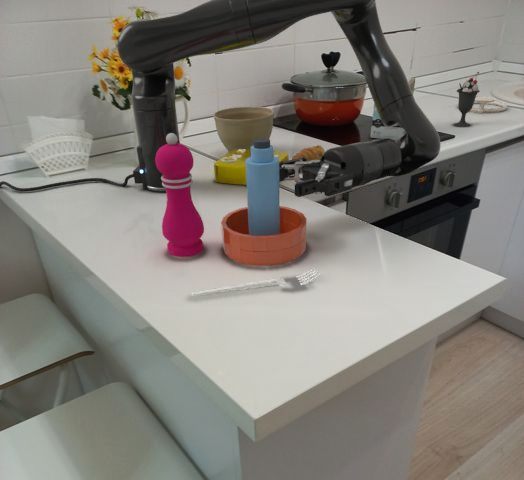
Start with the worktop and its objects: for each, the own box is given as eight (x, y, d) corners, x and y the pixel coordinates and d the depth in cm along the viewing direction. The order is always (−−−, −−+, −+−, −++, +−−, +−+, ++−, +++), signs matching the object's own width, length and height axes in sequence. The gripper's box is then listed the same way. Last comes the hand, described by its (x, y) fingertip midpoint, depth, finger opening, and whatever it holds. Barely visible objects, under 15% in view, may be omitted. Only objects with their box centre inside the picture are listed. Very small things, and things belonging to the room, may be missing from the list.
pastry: (302, 169, 127) (302, 154, 124) (285, 164, 131) (285, 149, 129) (328, 162, 131) (329, 147, 129) (311, 157, 136) (311, 142, 133)
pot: (217, 267, 84) (214, 237, 81) (230, 232, 96) (228, 204, 92) (304, 269, 83) (305, 238, 79) (306, 233, 94) (307, 205, 91)
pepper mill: (171, 264, 85) (153, 141, 74) (161, 248, 91) (142, 131, 79) (211, 256, 88) (200, 135, 76) (199, 240, 93) (186, 125, 81)
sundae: (477, 125, 160) (488, 72, 151) (463, 128, 157) (474, 74, 148) (460, 121, 164) (470, 70, 155) (446, 124, 161) (455, 72, 152)
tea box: (403, 140, 147) (411, 84, 138) (369, 138, 150) (374, 83, 141) (408, 129, 158) (416, 76, 150) (376, 127, 161) (382, 75, 152)
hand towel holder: (510, 91, 182) (509, 102, 166) (507, 104, 184) (506, 116, 169) (461, 89, 187) (456, 99, 172) (459, 102, 190) (453, 113, 174)
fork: (190, 293, 77) (189, 282, 76) (314, 276, 81) (314, 266, 79) (193, 303, 75) (191, 292, 74) (320, 286, 78) (321, 275, 77)
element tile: (270, 188, 116) (270, 167, 113) (212, 182, 120) (210, 162, 118) (290, 169, 127) (290, 149, 124) (236, 164, 132) (235, 145, 129)
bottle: (247, 253, 87) (242, 144, 76) (251, 240, 91) (246, 135, 81) (278, 253, 86) (277, 144, 76) (280, 240, 91) (280, 135, 80)
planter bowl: (225, 146, 147) (222, 106, 141) (279, 147, 144) (278, 106, 138) (209, 162, 135) (205, 118, 128) (268, 164, 132) (267, 119, 125)
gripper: (327, 137, 94) (256, 152, 87) (382, 152, 84) (307, 171, 77) (325, 177, 98) (257, 194, 91) (377, 196, 89) (306, 218, 82)
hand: (280, 184), depth 84 cm, fingers open, 8 cm apart
